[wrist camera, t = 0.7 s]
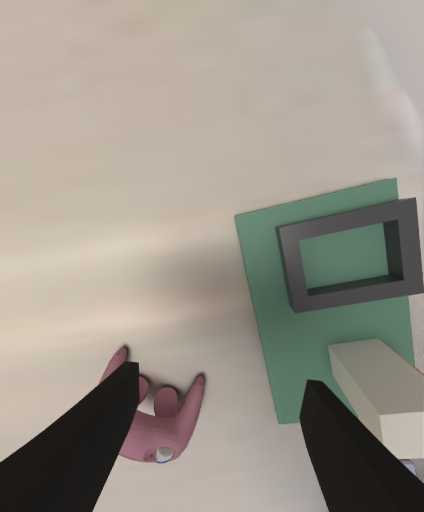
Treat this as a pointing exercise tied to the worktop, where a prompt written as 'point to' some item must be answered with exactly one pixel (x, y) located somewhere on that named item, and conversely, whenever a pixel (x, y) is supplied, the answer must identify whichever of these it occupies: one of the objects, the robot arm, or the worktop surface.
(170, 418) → the pink toy figure
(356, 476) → the robot arm
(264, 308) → the circuit board
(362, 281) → the frame
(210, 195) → the worktop surface
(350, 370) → the plug
